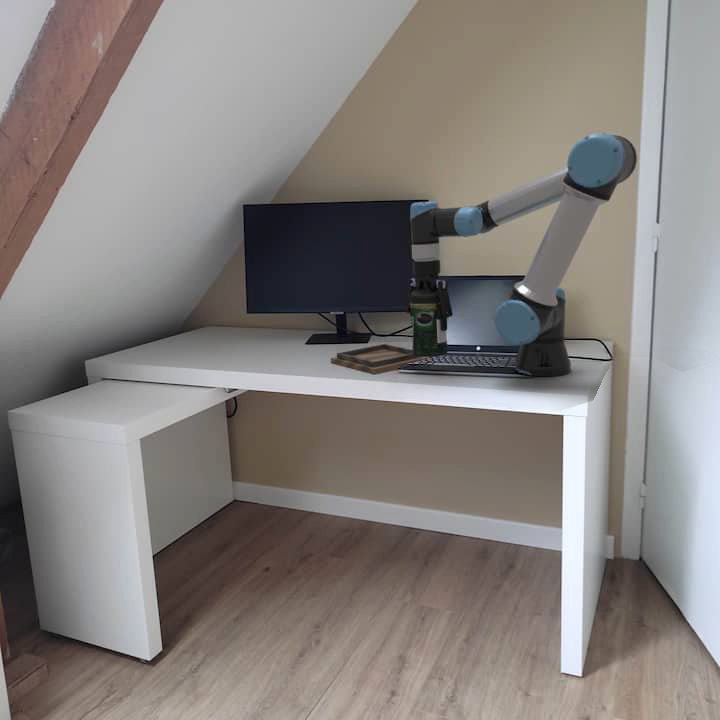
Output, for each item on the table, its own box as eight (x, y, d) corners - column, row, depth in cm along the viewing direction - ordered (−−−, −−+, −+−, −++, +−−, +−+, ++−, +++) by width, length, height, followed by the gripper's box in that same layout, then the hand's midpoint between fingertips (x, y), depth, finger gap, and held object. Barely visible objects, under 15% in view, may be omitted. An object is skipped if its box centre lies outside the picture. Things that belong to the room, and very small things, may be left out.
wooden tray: (430, 361, 218) (430, 352, 218) (374, 374, 206) (374, 364, 206) (384, 351, 236) (384, 342, 235) (330, 362, 224) (330, 353, 223)
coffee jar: (450, 352, 207) (448, 286, 203) (442, 358, 200) (440, 290, 196) (418, 351, 210) (415, 287, 207) (409, 357, 203) (406, 291, 199)
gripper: (464, 259, 193) (467, 342, 197) (410, 257, 210) (414, 334, 215) (443, 261, 189) (447, 347, 193) (390, 260, 206) (394, 338, 211)
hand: (429, 340), depth 204 cm, fingers closed on coffee jar, 9 cm apart
